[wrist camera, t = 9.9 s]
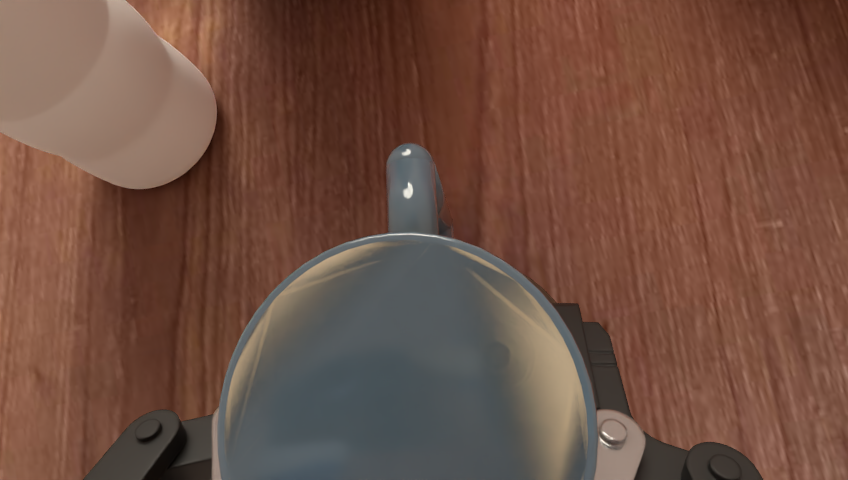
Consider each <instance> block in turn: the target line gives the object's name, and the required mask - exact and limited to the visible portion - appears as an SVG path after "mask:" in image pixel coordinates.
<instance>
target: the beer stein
mask: <svg viewBox="0 0 848 480" xmlns="http://www.w3.org/2000/svg"><path fill="white" fill-rule="evenodd" d="M386 189H387V216H388V233H383V234H376V235H370V236H366V237H362V238H359V239H355V240H352V241H348V242H345V243H343V244H341V245H338V246H336V247H334V248H331V249H329V250H327V251H325V252H323V253H321V254H320V255H318V256H316V257H315V258H313V259H311V260H309V261H308V262H306V263H305V264H303V265H302V266H301V267H300V268H298V269H297V270H296V271H294V272H293V273H292V274H290V275H289V276H288V277H287V278H286V279H285V280H284V281H283V282H282V283H281V284H280V285H279V286H278V287H277V288H275V289H274V290H273V291H272V292H271V293H270V295H269V296H268V297H267V298H266V300H265V301H264V302H263V303H262V305H261V306H260V307H259V308H258V310H257V311H256V312H255V314H254V315H253V317H252V319H251V320H250V322H249V323H248V325H247V327H246V328H245V330H244V331H243V333H242V336H241V338H240V340H239V342H238V344H237V346H236V348H235V350H234V352H233V355H232V358H231V361H230V364H229V366H228V369H227V372H226V375H225V379H224V384H223V388H222V393H221V397H220V404H219V413H218V423H217V442H218V458H219V466H220V473H221V479H222V480H594V478H595V473H596V468H597V454H598V423H597V409H596V404H595V399H594V394H593V389H592V383H591V380H590V377H589V374H588V371H587V368H586V365H585V362H584V359H583V356H582V354H581V352H580V350H579V348H578V346H577V344H576V341H575V339H574V337H573V335H572V333H571V331H570V330H569V328H568V327H567V325H566V324H565V322H564V320H563V319H562V317H561V316H560V314H559V313H558V311H557V310H556V309H555V307H554V306H553V305H552V304H551V303H550V301H549V300H548V299H547V298H546V297H545V295H544V294H543V293H542V292H541V291H540V290H539V289H538V288H537V287H536V286H535V285H534V284H533V283H532V282H531V281H530V280H529V279H527V278H526V277H525V276H524V275H523V274H522V273H521V272H519V271H518V270H516V269H515V268H514V267H512V266H511V265H509V264H508V263H507V262H505V261H504V260H502V259H501V258H499V257H497V256H495V255H493V254H491V253H489V252H488V251H486V250H484V249H482V248H480V247H477V246H475V245H472V244H469V243H467V242H464V241H461V240H459V239H454V232H453V219H452V216H451V213H450V209H449V206H448V203H447V200H446V197H445V194H444V191H443V188H442V185H441V182H440V179H439V175H438V172H437V169H436V166H435V163H434V160H433V158H432V156H431V154H430V153H429V151H428V150H427V149H426V148H424V147H423V146H421V145H419V144H415V143H405V144H402V145H399V146H398V147H396V148H395V149H394V150H393V151H392V152H391V153H390V154H389V156H388V158H387V162H386Z"/></svg>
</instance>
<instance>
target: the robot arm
mask: <svg viewBox="0 0 848 480" xmlns="http://www.w3.org/2000/svg"><path fill="white" fill-rule="evenodd" d="M551 304H552V305H553V306H554V307H555V309H556V310H557V311H558V313H559V314H560V316H561V317H562V319H563V320H564V322H565V324H566V325H567V327H568V328H569V330H570V331H571V333H572V335H573V337H574V339H575V341H576V344H577V346H578V348H579V350H580V352H581V354H582V356H583V359H584V362H585V365H586V368H587V371H588V374H589V377H590V380H591V383H592V389H593V394H594V399H595V404H596V409H597V423H598V454H597V468H596V473H595V478H594V480H763V478H762V477H761V475H760V473H759V472H758V470H757V469H756V467H755V466H754V464H753V463H752V462H751V461H750V460H749V459H748V458H747V457H746V456H744V455H743V454H742V453H740V452H739V451H737V450H735V449H733V448H731V447H729V446H727V445H724V444H720V443H715V442H704V443H700V444H697V445H695V446H693V447H692V448H691V449H690V450H689V451H687V450H684V449H681V448H678V447H675V446H672V445H669V444H666V443H663V442H661V441H658V440H656V439H654V438H653V437H651V436H649V435H648V434H647V433H645V432H644V431H643V430H642V429H641V427H640V426H639V425H638V424H637V422H636V421H634V419H633V418H632V416H631V413H630V410H629V406H628V402H627V399H626V395H625V391H624V388H623V384H622V380H621V376H620V373H619V369H618V367H617V362H616V358H615V354H614V350H613V347H612V343H611V339H610V336H609V335H608V333H607V332H606V331H605V330H604V329H603V328H602V326H601V325H600V324H599V323H598V322H582V318H581V313H580V308H579V305H578V304H577V303H551ZM218 413H219V407H218V408H217V409H216V411H215V413H214V414H212V415H208V416H204V417H200V418H195V419H191V420H186V421H182V422H181V421H180V419H179V417H178V415H177V414H176V413H175V412H173V411H170V410H156V411H152V412H149V413H147V414H145V415H143V416H141V417H139V418H138V419H136V420H135V421H134V422H133V423H131V424H130V425H129V426H128V427H127V428H126V430H125V431H124V432H123V433H122V434H121V435H120V437H119V438H118V439H117V440H116V441H115V443H114V444H113V445H112V446H111V447H110V448H109V450H108V451H107V452H106V453H105V454H104V455H103V457H102V458H101V459H100V460H99V461H98V463H97V464H96V465H95V466H94V467H93V468H92V470H91V471H90V472H89V473H88V474H87V475H86V477H85V478H84V479H83V480H222V479H221V473H220V466H219V458H218V442H217V423H218Z"/></svg>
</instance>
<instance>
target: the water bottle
mask: <svg viewBox="0 0 848 480" xmlns="http://www.w3.org/2000/svg"><path fill="white" fill-rule="evenodd" d="M216 120H217V105H216V99H215V96H214V93H213V90H212V88H211V86H210V84H209V82H208V81H207V79H206V78H205V76H204V75H203V74H202V73H201V72H200V71H199V69H198V68H197V67H196V66H194V65H193V64H192V63H191V62H190V61H189V60H188V59H187V58H186V57H185V56H184V55H183V54H181V53H180V52H179V51H178V50H177V49H175V48H174V47H173V46H172V45H170V44H169V43H168V42H166V41H165V40H164V39H162V38H161V37H159V36H158V35H156V33H155V32H154V30H153V29H152V28H151V27H150V25H149V24H148V23H147V22H146V20H145V19H144V18H143V17H142V16H141V15H140V14H139V13H138V12H137V11H136V10H135V9H134V8H133V7H132V6H131V5H130V4H129V3H128V2H127V1H126V0H0V132H1V133H3V134H5V135H7V136H9V137H11V138H13V139H15V140H17V141H19V142H21V143H24V144H26V145H28V146H31V147H33V148H36V149H39V150H41V151H44V152H47V153H51V154H54V155H58V156H61V157H63V158H64V159H66V160H67V161H69V162H70V163H72V164H73V165H75V166H77V167H79V168H80V169H82V170H84V171H86V172H88V173H90V174H92V175H94V176H96V177H98V178H100V179H102V180H105V181H107V182H109V183H111V184H114V185H117V186H120V187H124V188H130V189H148V188H154V187H158V186H161V185H164V184H167V183H169V182H171V181H173V180H175V179H177V178H178V177H180V176H182V175H183V174H184V173H186V172H187V171H188V170H189V169H191V168H192V167H193V166H194V165H195V164H196V163H197V161H198V160H199V159H200V158H201V157H202V155H203V154H204V152H205V151H206V149H207V147H208V145H209V144H210V141H211V139H212V136H213V134H214V130H215V126H216Z"/></svg>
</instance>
